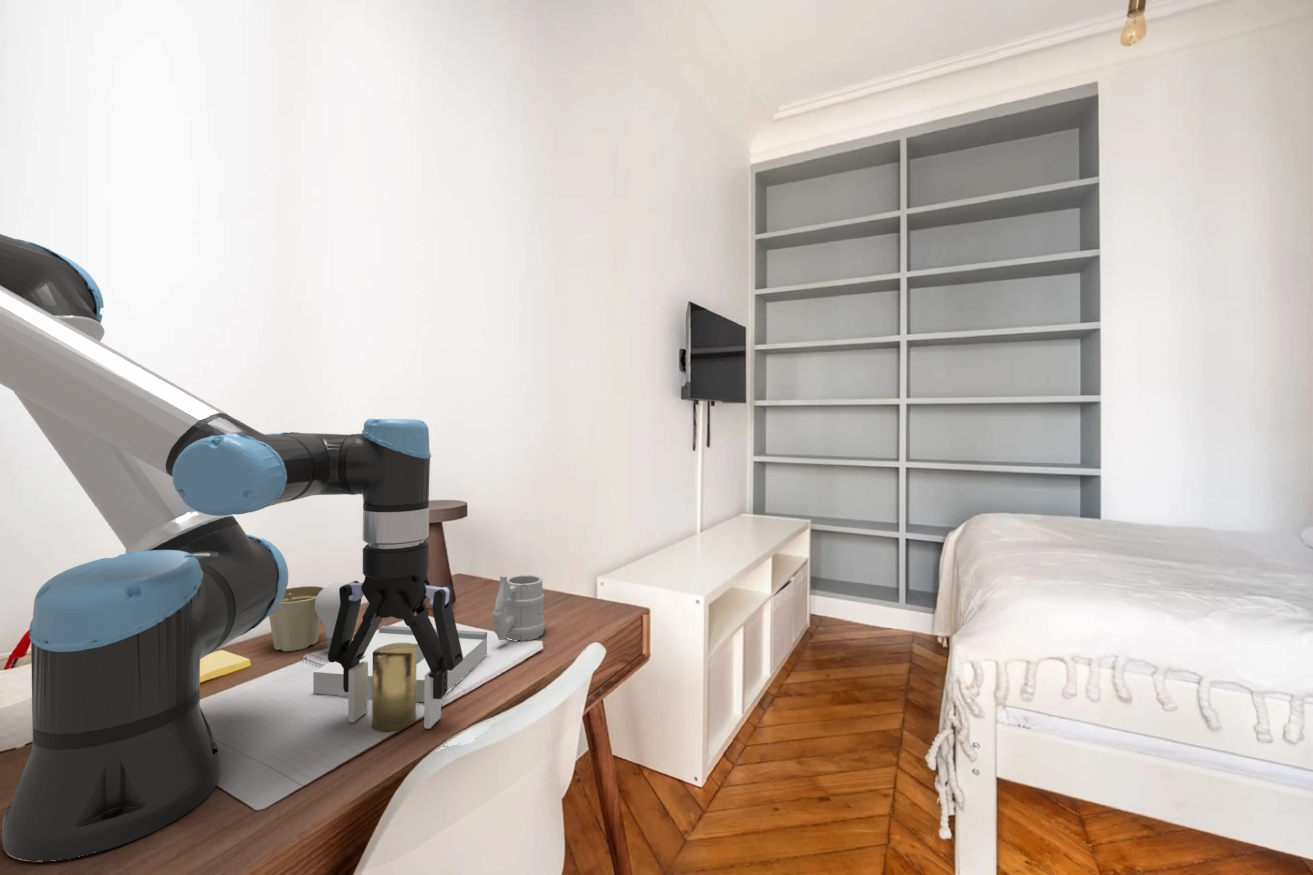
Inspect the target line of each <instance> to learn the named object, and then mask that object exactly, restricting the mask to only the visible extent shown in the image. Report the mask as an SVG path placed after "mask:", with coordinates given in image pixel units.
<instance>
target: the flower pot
mask: <svg viewBox="0 0 1313 875" xmlns="http://www.w3.org/2000/svg"><path fill="white" fill-rule="evenodd" d="M325 587H326V586H321V585H303V586H302V585H301V586H293V587H287V588H286V592H285V595H284V597H283V599H282V601H281V603H280V604H279V606H278V607H277V608H276V609H275V611H274V612H273V613H272V614H270V615H269V616H268V618H269V623H270V624H269V625H270V630H271V635H272V636H271V637H272V642H273V649H275V650H276V651H280V650H281V651H282V652H293V651H301V650H305V649H307V648H308V647H310V645H313V646H315V644H317V642H319V636H320V635H319V634H320V628H321V623H322V620H321V619H320V617H319V616H318V614H317V612H316V610H315V600H316V597H317V595H318V594H319V592H320V591H321V590H322V589H323V588H325Z"/></svg>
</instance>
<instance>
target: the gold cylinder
mask: <svg viewBox="0 0 1313 875" xmlns="http://www.w3.org/2000/svg"><path fill="white" fill-rule="evenodd" d="M417 664H418V663H417V647H416V645H414V644H411V643H393V644H388V645H385V646H382V647H379V648H377V649H376V650H375V651H374V652H373V676H372V698H371V699H372V700H371V701H372V702H371V727H372V730H375V731H376V732H379V733H391V732H392V733H393V732H397V731H402V730H404V729H406V728H408V727H409V726H411V725H412V724H414V722H415V721H416V718H417V702H416V665H417Z"/></svg>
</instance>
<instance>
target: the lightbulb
mask: <svg viewBox="0 0 1313 875" xmlns="http://www.w3.org/2000/svg"><path fill="white" fill-rule="evenodd" d="M346 584H347V583H343V582H335V583H332V584H329V585H327V586H324V587H325V588H323V589H322V590H321V591H320V592H319V594H318V595H317V597H316V600H315V610H316V612H317V614H318V616H319V617H320V619H321V623H322V624H323V627H324V635H325V636H326V645H327V649H330V645H331V641H332V637H333V633H334V628H335V624H336V620H337V616H338V612H339V608H340V594H339V589H340V587H341V586H344V585H346Z"/></svg>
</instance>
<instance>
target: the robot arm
mask: <svg viewBox="0 0 1313 875" xmlns="http://www.w3.org/2000/svg"><path fill="white" fill-rule="evenodd" d="M104 307H105V306H104V299H103V295H102V293H101V289H100V288H99V286H98V284H97V283H96V281H95V279H93V277H92V276H91V275H90V274H89V273H88V272H87V271H86V270H85V269H84V268H83V267H82V266H81V265H79V264H78V263H77V262H75V261H73V260H72V259H70V258H68V257H66V256H64V255H61V254H59V253H57V252H55V251H53V250H51V249H50V248H49V247H48V248H47V247H46V246H43V245H40V244H37V243H35V242H31V241H28V240H23V239H18V238H13V237H10V236H7V235H5V234H1V233H0V385H2V386H4V387H6V388H7V389H9V390H11V391H13V393H14V394H15V395H16V397H17V398H18V400H19V401H20V403H21V404H22V405H23V407H24V408H25V409H26V411H27V413H28V414H29V415H30V417H31V418H32V419H33V421H34V422H35V423H36V425H37V427H38V428H39V429H40V430H41V432H42V433H43V435H44V436H45V438H46V439H47V440H48V442H49V443H50V444H51V446H52V447H53V449H54V450H55V451H56V453H57V454H58V456H59V457H60V459H61V460H62V462H63V463H64V464H65V466H66V467H67V468H68V469H69V471H70V473H71V474H72V475H73V477H74V479H75V480H76V481H77V482H78V484H79V485H80V487H81V488H82V489H83V491H84V492H85V493H86V495H87V497H89V499H90V501H91V502H92V503H93V505H94V506H95V507H96V509H97V510H98V512H99V513H100V514H101V516H102V517H103V519H104V521H105V522H106V524H108V526H109V527H110V529H111V531H112V532H114V534H115V536H116V537H117V538H118V540H119V541H120V542H121V544H122V545H123V546H124V549H125V552H124V553H122V554H119V555H117V556H114V557H104V558H103V557H102V558H99V559H95V560H92V561H88V562H85V563H82V564H79V565H77V566H73V567H71V568H69V569H66V570H64V571H62V572H60V573H58V574H56V575H54V576H53V577H51V578H49V579H48V580H47V581H46V582H44V584H43V585H42V586H41V587H40V588H39V589H38V591H37V592H36V595H35V597H34V601H33V610H32V611H33V612H32V619H31V621H30V623H29V629H28V630H29V631H28V632H29V634H28V635H29V636H28V637H29V639H30V641H31V642H30V644H31V645H30V648H31V654H30V655H31V707H32V708H31V709H32V710H31V711H32V712H31V713H32V715H31V716H32V717H31V718H32V719H31V722H32V747H31V751H30V754H29V757H28V758H27V761H26V764H25V767H24V769H23V771H22V773H21V776H20V778H19V782H18V783H17V787H16V790H15V793H14V795H13V797H12V801H11V802H10V804H9V806H8V808H7V809H6V811H5V812H4V815H3V819H2V825H1V827H2V830H1V832H2V834H1V837H2V838H1V839H2V841H1V844H3V847H4V849H5V851H6V852H7V853H9V855H12V856H14V857H16V858H19V859H20V858H21V859H23V860H24V859H25V860H29V861H30V860H31V861H37V860H38V861H39V860H40V861H41V860H42V861H51V860H59V859H60V860H62V859H68V860H70V859H69V858H73V859H77V858H76V857H78V856H82V855H86V854H91V853H94V852H98V853H100V852H99V851H102V852H104V851H103V850H105V851H107V850H106V849H108V850H111V849H114V848H117V847H120V846H123V845H125V844H128V843H131V842H132V841H133V842H134V841H135V840H138V839H140V838H142V837H145V836H147V835H149V834H151V833H154V832H155V831H158V830H159V829H161V828H163V827H165V826H167V825H169V824H171V823H173V822H174V821H176V820H178V819H179V818H181V817H182V816H184V815H186V814H187V813H188V812H190V811H191V810H193V809H194V808H196V807H197V806H198V805H199V804H200V803H202V802H203V801H205V800H206V798H208V796H209V795H211V793H212V792H213V790H215V789H216V787H217V785H218V784H219V782H220V780H221V776H222V774H221V771H222V767H221V766H222V764H221V762H222V761H221V760H222V758H221V757H222V755H221V748H220V747H219V746H218V744H217V742H216V741H215V739H214V736H213V732H212V731H211V728H210V725H209V724H208V720H207V718H206V717H205V714H204V712H203V710H202V708H201V701H200V699H201V698H200V696H201V695H200V692H201V691H200V690H201V689H200V688H201V687H200V685H201V684H200V682H201V681H200V680H201V677H200V676H201V659H204V658H205V657H207V656H208V655H210V654H212V653H214V652H215V651H217V650H218V649H221V647H224V646H225V645H227V644H228V643H230V642H232V641H233V640H235V639H237V638H238V637H240V636H243V635H246V634H247V633H249V632H250V631H251V630H253V629H255V628H257V627H258V626H259V625H260V624H262V623H263V622H264V621H265V620H266V619H267V618H269V615H270V614H272V613H273V612H274V611H275V609H276V608H277V607H278V606H279V604H280V603H281V601H282V599H283V597H284V595H285V592H286V588H288V584H289V569H288V565H287V561H286V559H285V556H284V555H283V554H282V552H281V550H280V549H278V547H277V546H276V545H274V544H273V543H272V542H270V541H269V540H267V539H264V538H261V537H258V536H254V535H250V534H247V533H246V532H245V531H244V529H243V528H242V526H241V525H240V524H239V522H238V521H237V518H235V516H234V515H244V514H248V513H249V514H250V513H254V512H257V511H261V510H263V509H264V510H265V508H268V507H271V506H275V505H279V504H283V503H288V502H292V501H296V500H300V499H304V498H308V497H311V496H312V497H313V496H330V495H331V496H332V495H335V496H336V495H340V496H341V495H350V496H351V495H352V496H353V495H354V496H356V495H357V496H358V495H362V502H363V503H362V541H363V542H365V543H366V544H365V545H364V547H363V548H362V574H363V576H364V580H363V582H359V580H354V581H351V582H349V583H345V584H346V585H344V586H341V587H340V589H339V594H340V608H339V612H338V616H337V620H336V624H335V628H334V633H333V637H332V641H331V645H330V649H329V648H328V649H329V650H328V653H327V660H328V663H329V662H332V663H333V662H337V663H340V664H341V666H342V667H343V683H344V684H343V689H344V691H345V692H348V696H347V697H348V704H347V706H348V709H347V710H348V711H347V712H348V713H347V716H348V717H347V722H348V723H355V722H357V721H358V720H359V719H360V718H361V717H362V716H364V715H365V714H367V713H368V708H369V707H368V706H369V705H368V704H369V701H368V699H369V698H368V661H362V662H360V660H361V659H363V658H364V657H365V656H364V657H363V655H364V653H365V651H366V649H367V647H368V645H369V644H370V642H371V640H372V638H373V636H375V635H376V634H375V633H376V632H377V630H378V629H379V627H380V625H381V622H382V621H383V619H387V618H394V619H399V620H400V619H401V620H402V621H403V622H404V624H405V625H406V627H410V628H411V630H412V633H413V635H414V637H415V639H416V641H417V643H418V645H419V647H420V649H421V652H422V654H423V656H424V658H425V660H426V662H427V664H428V666H429V668H430V670H431V671H429V672H428V673H427V674H426V675H425V689H424V702H423V704H424V707H423V710H424V713H423V717H424V719H423V720H424V722H423V727H424V729H431V728H432V727H433V726H434V725H435V724H436V723H437V722H438V721H439V720H440V719H441V718H442V699H443V698H444V697H445V696H446V695H447V694H446V692H447V688H448V686H447V685H448V683H447V682H448V671H451V670H453V669H454V668H455V667H456V666H457V665H458V664H459V663H460V662H462V661H463V654H462V650H461V645H460V641H459V637H458V632H457V630H458V629H457V625H456V620H455V615H454V610H453V607H452V606H453V605H452V600H453V598H452V597H453V587H452V586H451V585H445V586H443V587H440V586H433V585H431V583H430V581H429V579H428V572H429V567H430V553H429V552H430V544H429V542H427V541H426V540H425V539H427V538H429V535H430V501H429V500H430V475H431V474H430V471H431V458H432V453H431V451H430V430H429V426H428V425H427V423H426V422H425V421H423V420H422V419H421V420H420V419H406V418H405V419H403V418H402V419H401V418H368V419H367V420H365V421H364V423H363V429H362V431H361V433H351V434H345V433H344V434H341V433H340V434H339V433H337V434H336V433H312V432H311V433H310V432H309V433H307V432H306V433H305V432H294V431H291V432H285V431H284V432H279V433H277V432H276V433H265V434H264V433H262V432H260V431H258V430H256V429H254V428H252V427H251V426H249V425H247V424H246V423H244V422H242V421H241V420H238V419H236V418H234V417H233V416H231V415H229V414H228V413H226V412H225V411H223V410H221V409H219V408H218V407H216V406H214V405H212V403H209V402H207V401H205V400H204V399H202V398H200V397H198V396H196V395H195V394H193V393H191V392H189V391H188V390H186V389H184V388H183V387H181V386H179V385H178V384H175V383H174V382H172V381H170V380H169V379H166V378H165V377H164V376H161V375H159V374H158V373H156V372H154V371H152V370H151V369H149V368H147V367H145V366H144V365H142V364H140V363H138V362H136V361H135V360H133V359H131V358H130V357H127V356H126V355H124V354H122V353H120V352H119V351H118V350H115V349H114V348H112V347H110V346H108V345H106V344H104V343H103V342H101V341H102V339H103V338H104V335H105V329H104V327H103V325H102V319H103V314H101V309H103V308H104ZM362 598H365V599H366V600H367V602H368V605H367V608H366V610H365V611H364V613H363V614H362V615H363V616H362V621H361V622H360V624H359V626H358V628H357V631H356V633H355V634H354V632H355V630H356V629H355V628H356V625H357V620H358V617H359V611H360V608H361V603H362ZM426 598H428V599H429V605H430V606H432V615H433V619H434V624H435V625H433V623H432V621H431V620H430V617H429V614H430V612H429V609H428V606H427V605H426V604H425V600H426ZM414 613H416V614H414ZM434 626H435V628H434ZM435 629H437V634H438V636H437V634H436V632H435ZM445 694H446V695H445ZM444 695H445V696H444ZM443 696H444V697H443ZM442 697H443V698H442ZM441 698H442V699H441ZM3 847H2V848H3ZM110 848H111V849H110ZM91 855H92V854H91ZM74 857H75V858H74ZM78 858H79V857H78ZM62 861H63V860H62Z"/></svg>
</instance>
